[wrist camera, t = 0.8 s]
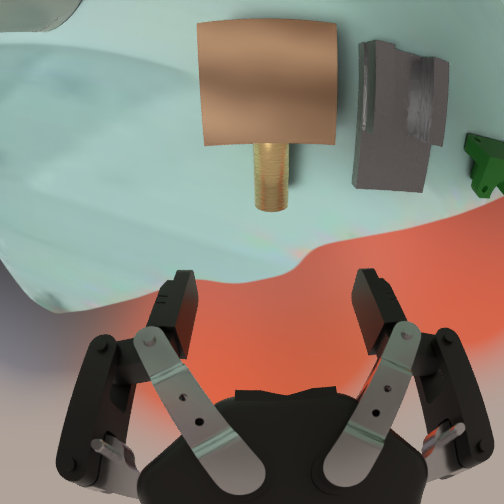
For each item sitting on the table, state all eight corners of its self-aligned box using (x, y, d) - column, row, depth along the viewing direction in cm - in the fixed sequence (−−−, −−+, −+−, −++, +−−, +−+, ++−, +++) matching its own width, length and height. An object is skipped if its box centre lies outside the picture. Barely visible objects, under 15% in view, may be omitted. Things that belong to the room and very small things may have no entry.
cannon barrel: (247, 41, 19) (252, 35, 16) (282, 41, 19) (292, 36, 16) (252, 199, 28) (257, 213, 25) (283, 196, 28) (291, 210, 26)
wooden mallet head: (212, 38, 20) (196, 23, 14) (315, 37, 20) (336, 23, 14) (217, 130, 26) (204, 146, 20) (315, 129, 26) (335, 144, 19)
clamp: (450, 158, 30) (462, 193, 25) (459, 122, 25) (478, 151, 20) (509, 182, 26) (527, 220, 21) (521, 151, 22) (545, 185, 16)
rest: (358, 43, 20) (373, 39, 16) (429, 62, 19) (450, 63, 16) (351, 183, 29) (363, 197, 26) (416, 187, 29) (432, 202, 25)
